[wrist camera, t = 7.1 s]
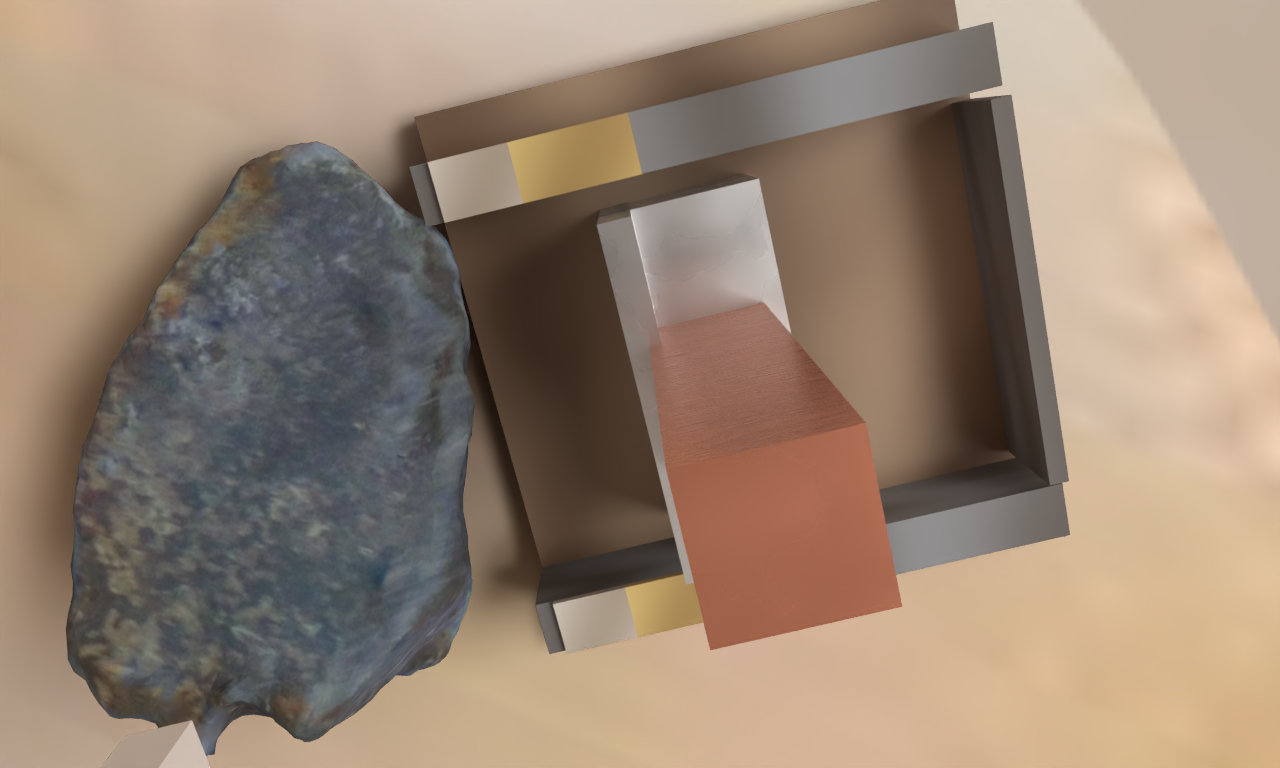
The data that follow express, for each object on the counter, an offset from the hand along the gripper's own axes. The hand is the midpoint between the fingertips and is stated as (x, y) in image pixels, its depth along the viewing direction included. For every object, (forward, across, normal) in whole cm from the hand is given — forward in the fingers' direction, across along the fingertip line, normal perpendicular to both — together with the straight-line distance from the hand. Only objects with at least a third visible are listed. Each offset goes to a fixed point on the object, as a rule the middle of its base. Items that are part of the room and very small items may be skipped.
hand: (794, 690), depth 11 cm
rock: (+20, -11, 0) cm, 23 cm away
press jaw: (+18, +1, 0) cm, 18 cm away
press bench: (+19, +2, 0) cm, 19 cm away
